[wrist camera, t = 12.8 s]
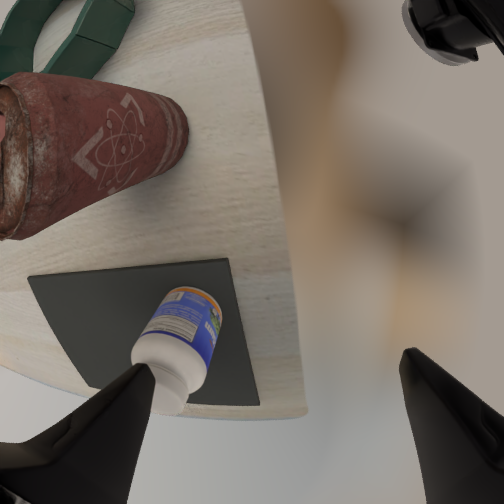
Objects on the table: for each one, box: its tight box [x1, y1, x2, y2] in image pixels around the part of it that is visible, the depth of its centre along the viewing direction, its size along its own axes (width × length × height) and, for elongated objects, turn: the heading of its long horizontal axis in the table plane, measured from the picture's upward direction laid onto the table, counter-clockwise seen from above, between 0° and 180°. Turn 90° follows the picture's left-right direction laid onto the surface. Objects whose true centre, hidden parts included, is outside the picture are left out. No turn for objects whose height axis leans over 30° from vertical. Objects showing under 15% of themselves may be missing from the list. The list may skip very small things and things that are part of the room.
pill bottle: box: [131, 286, 222, 416], centre depth 18 cm, size 5×5×10 cm
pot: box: [0, 0, 135, 82], centre depth 11 cm, size 17×13×6 cm
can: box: [0, 72, 189, 241], centre depth 11 cm, size 6×6×14 cm
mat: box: [27, 258, 260, 406], centre depth 26 cm, size 26×19×1 cm
